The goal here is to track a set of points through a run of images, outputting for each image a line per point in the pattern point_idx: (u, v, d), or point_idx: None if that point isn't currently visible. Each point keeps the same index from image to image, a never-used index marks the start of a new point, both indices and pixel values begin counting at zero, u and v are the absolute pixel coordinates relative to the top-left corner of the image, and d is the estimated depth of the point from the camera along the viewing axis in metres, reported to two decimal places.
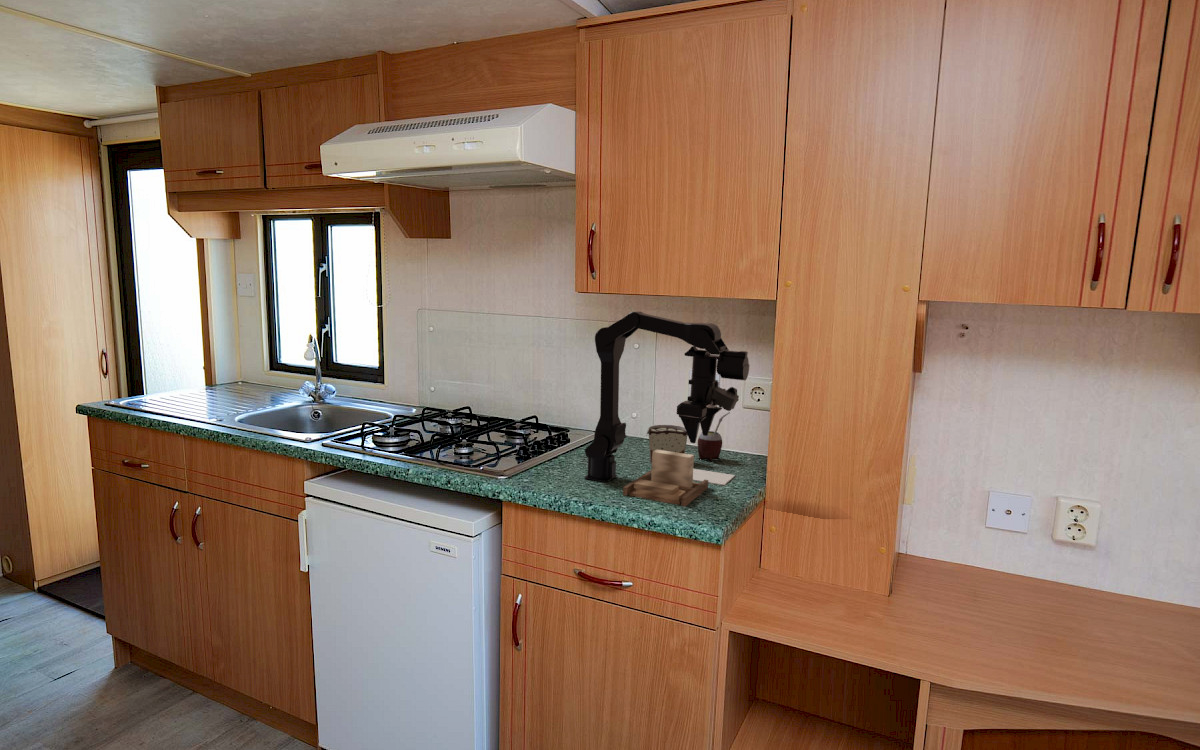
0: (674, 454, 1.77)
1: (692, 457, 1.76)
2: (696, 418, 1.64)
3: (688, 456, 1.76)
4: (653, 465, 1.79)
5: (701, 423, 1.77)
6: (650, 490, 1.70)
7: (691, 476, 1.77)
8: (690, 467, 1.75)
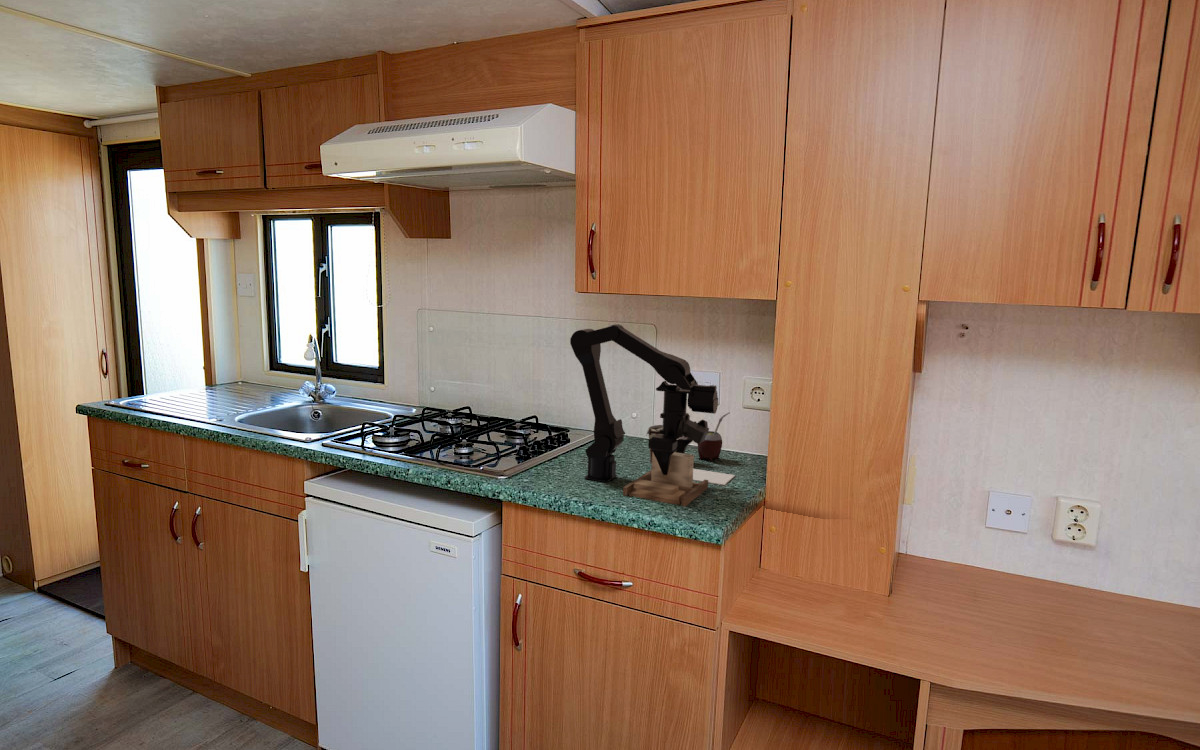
0: (674, 454, 1.77)
1: (692, 457, 1.76)
2: (667, 451, 1.70)
3: (688, 456, 1.76)
4: (653, 465, 1.79)
5: None
6: (650, 490, 1.70)
7: (691, 476, 1.77)
8: (690, 467, 1.75)
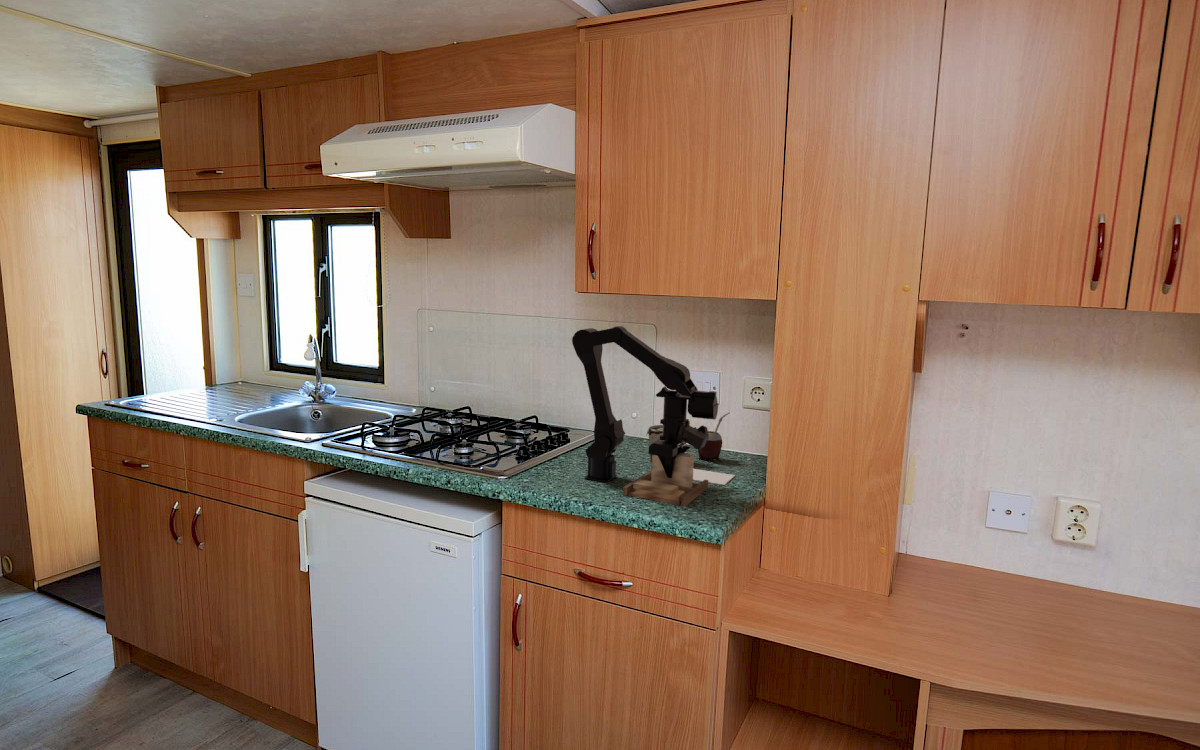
0: None
1: (692, 457, 1.76)
2: None
3: (688, 456, 1.76)
4: (653, 465, 1.79)
5: None
6: (649, 490, 1.70)
7: (691, 476, 1.77)
8: (690, 466, 1.75)
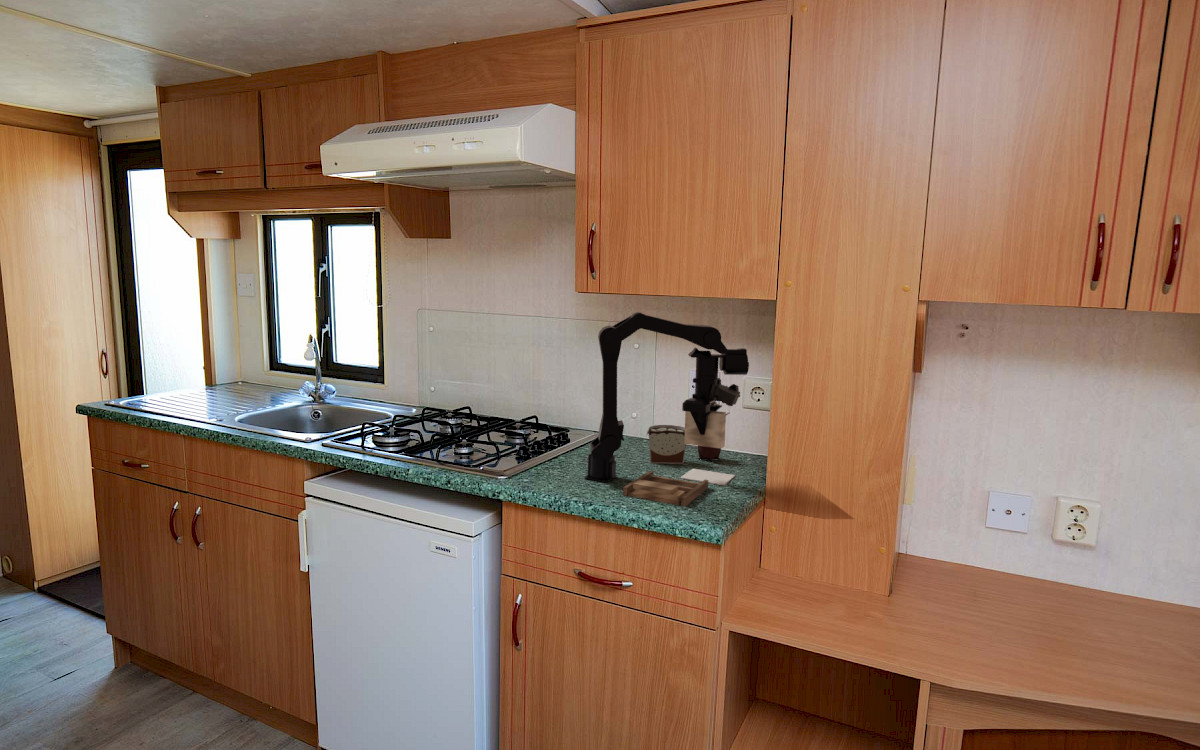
0: None
1: (724, 414, 1.83)
2: None
3: (720, 413, 1.82)
4: (686, 423, 1.86)
5: None
6: (649, 490, 1.70)
7: (723, 432, 1.84)
8: (722, 423, 1.82)
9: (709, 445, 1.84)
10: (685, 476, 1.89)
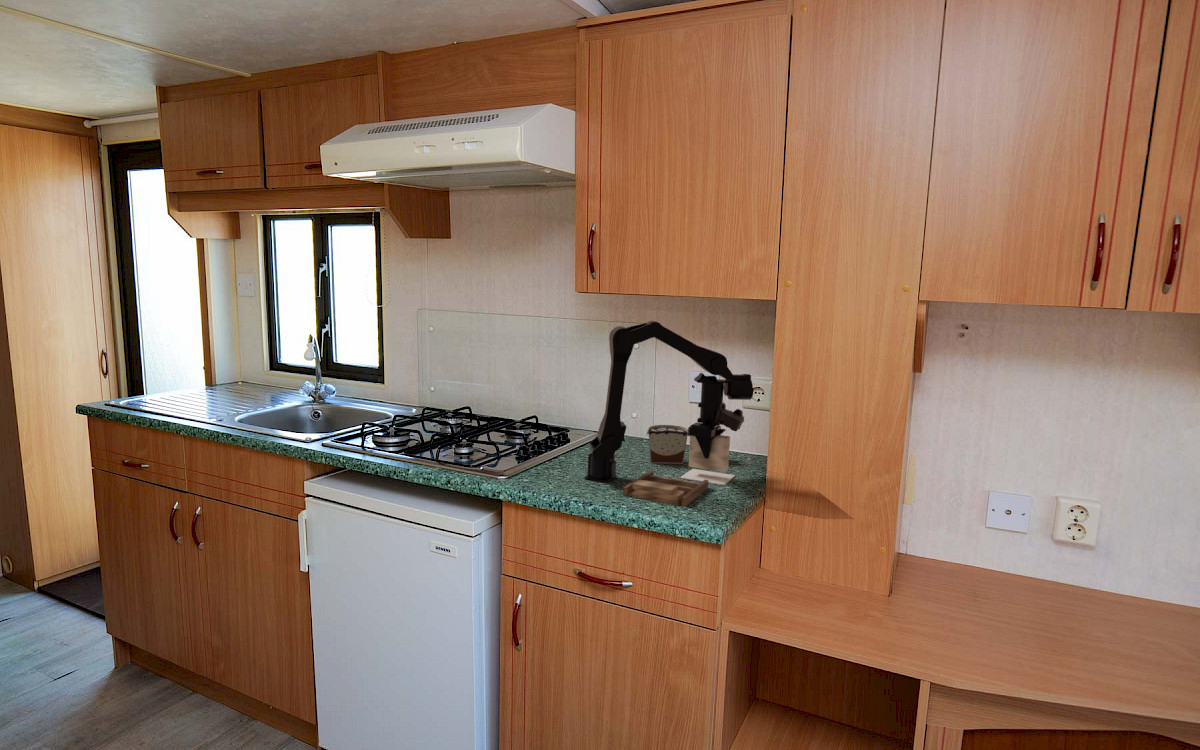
0: None
1: (728, 438, 1.86)
2: None
3: (725, 437, 1.85)
4: (691, 446, 1.89)
5: None
6: (649, 490, 1.70)
7: (727, 456, 1.87)
8: (726, 447, 1.85)
9: (713, 468, 1.87)
10: (685, 476, 1.89)
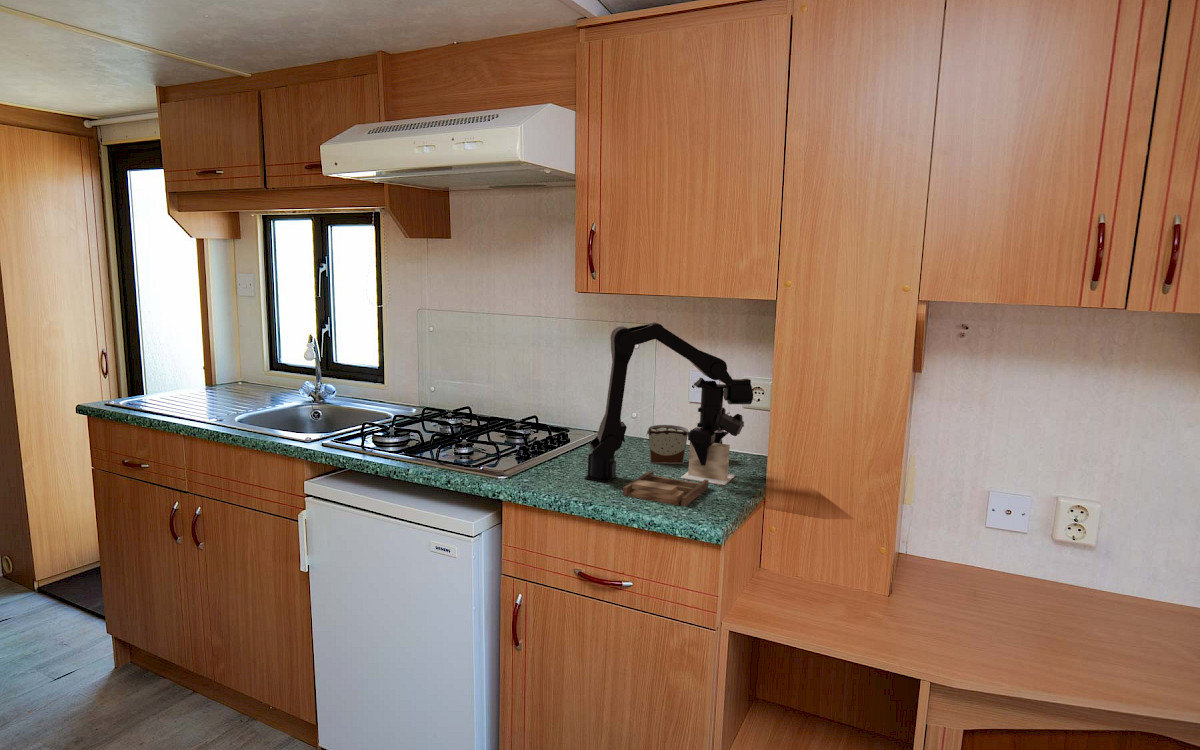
0: None
1: (728, 447, 1.87)
2: (706, 443, 1.80)
3: (724, 446, 1.86)
4: (690, 454, 1.89)
5: None
6: (648, 490, 1.69)
7: (727, 465, 1.87)
8: (726, 456, 1.85)
9: (713, 477, 1.87)
10: (685, 476, 1.89)
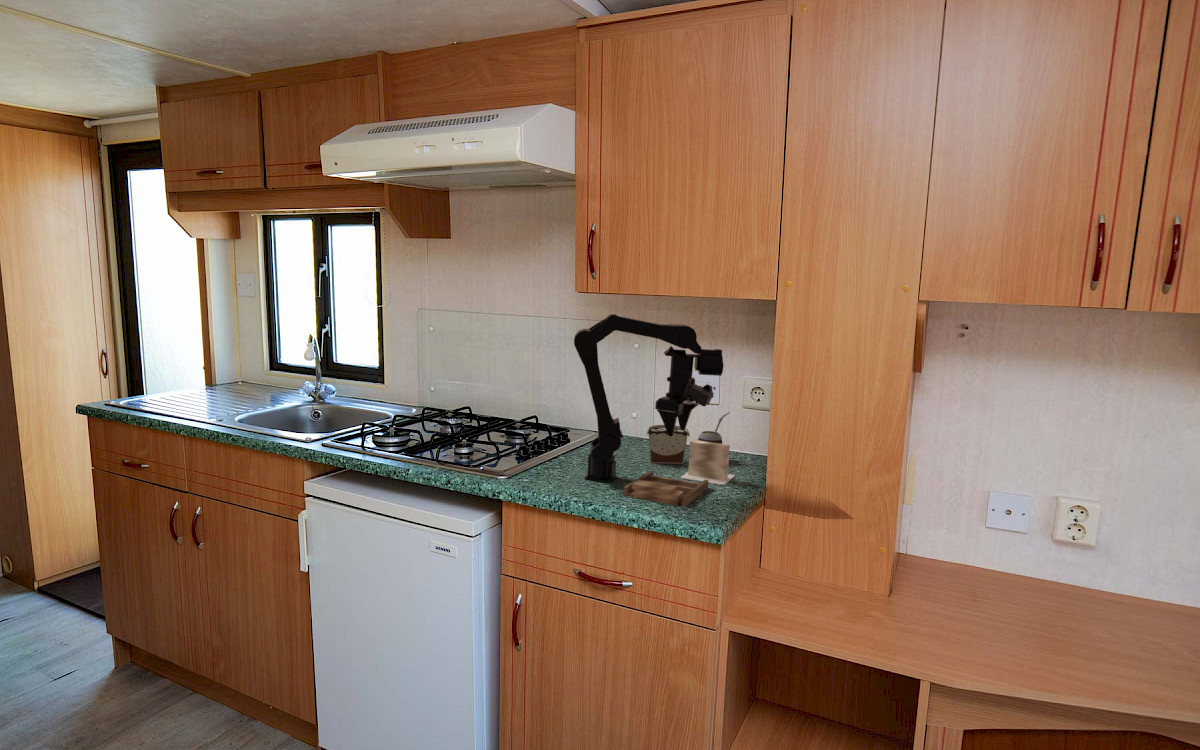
0: (711, 444, 1.87)
1: (728, 447, 1.87)
2: (673, 412, 1.76)
3: (724, 446, 1.86)
4: (690, 454, 1.89)
5: (679, 418, 1.89)
6: (648, 490, 1.69)
7: (727, 465, 1.87)
8: (726, 456, 1.85)
9: (713, 477, 1.87)
10: (685, 476, 1.89)
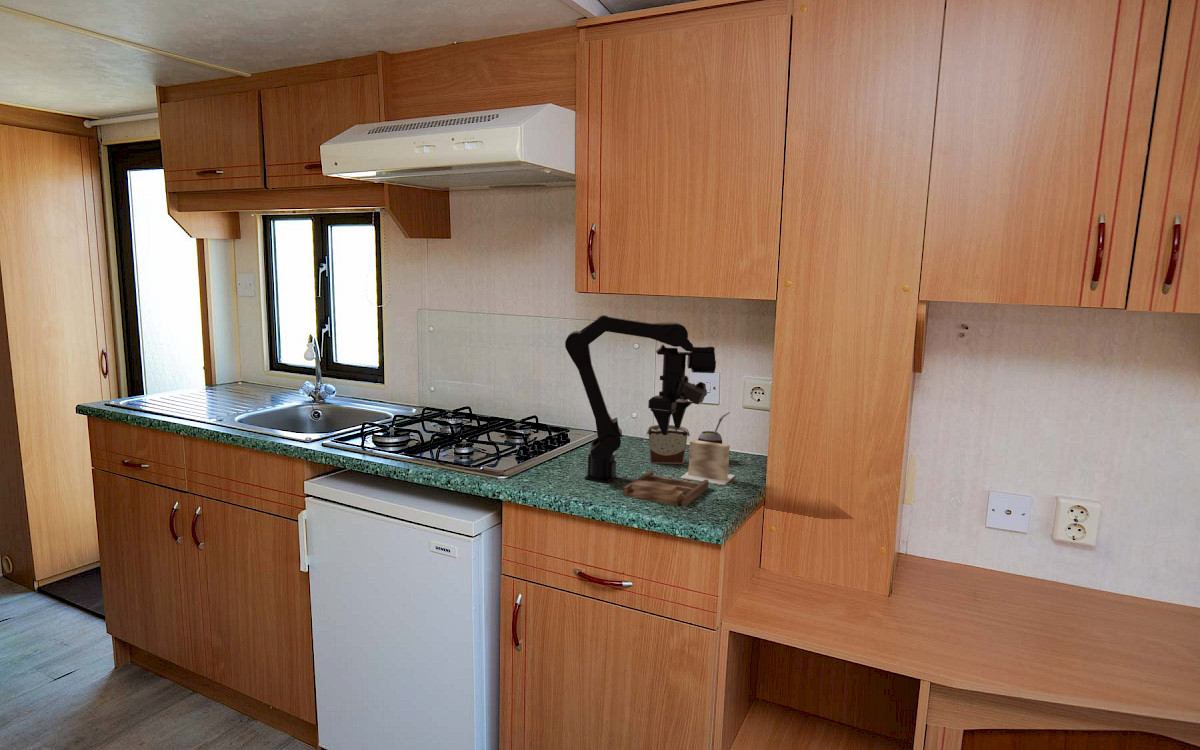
0: (711, 444, 1.87)
1: (728, 447, 1.87)
2: (666, 411, 1.75)
3: (724, 446, 1.86)
4: (690, 454, 1.89)
5: (673, 417, 1.88)
6: (648, 491, 1.69)
7: (727, 465, 1.87)
8: (726, 456, 1.85)
9: (713, 477, 1.87)
10: (685, 476, 1.89)
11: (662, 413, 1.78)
